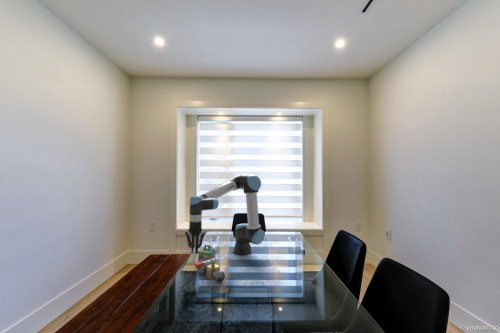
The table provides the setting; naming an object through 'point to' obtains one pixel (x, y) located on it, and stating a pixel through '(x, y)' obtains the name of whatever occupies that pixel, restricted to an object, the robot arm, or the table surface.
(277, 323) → the table surface
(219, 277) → the valve
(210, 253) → the chalk box
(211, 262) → the lever
